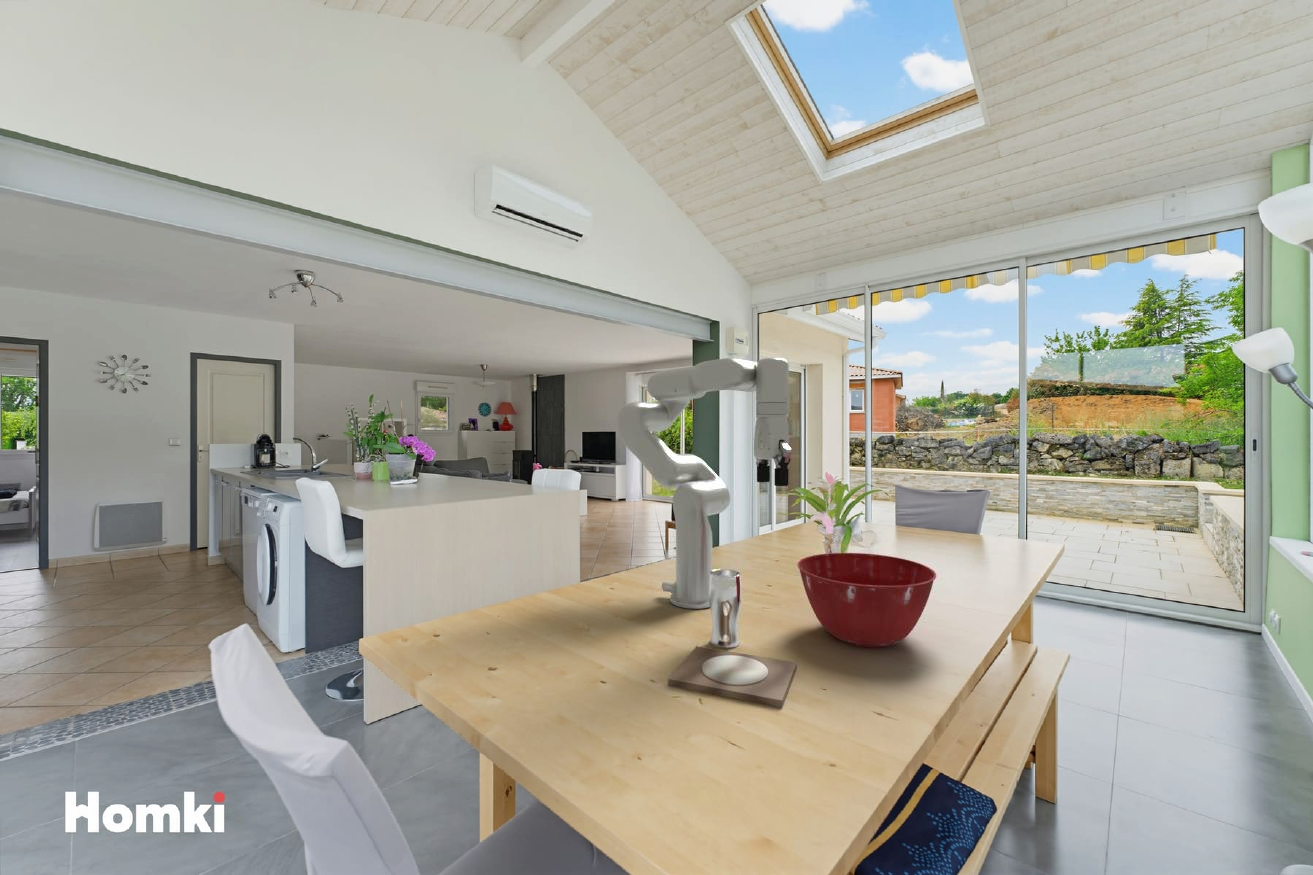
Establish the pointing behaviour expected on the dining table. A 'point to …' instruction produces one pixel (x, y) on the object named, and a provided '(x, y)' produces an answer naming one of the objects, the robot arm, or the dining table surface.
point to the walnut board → (735, 676)
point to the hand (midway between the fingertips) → (772, 483)
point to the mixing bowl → (866, 595)
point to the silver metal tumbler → (725, 606)
